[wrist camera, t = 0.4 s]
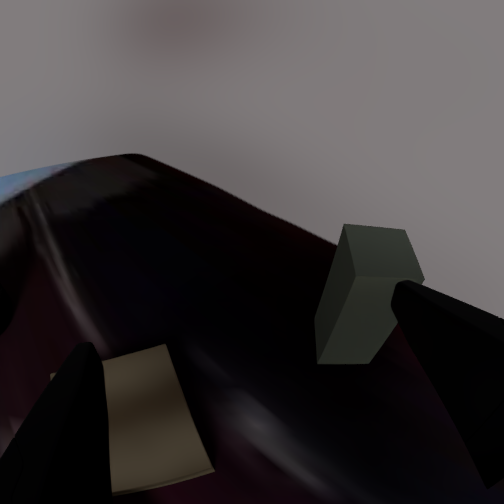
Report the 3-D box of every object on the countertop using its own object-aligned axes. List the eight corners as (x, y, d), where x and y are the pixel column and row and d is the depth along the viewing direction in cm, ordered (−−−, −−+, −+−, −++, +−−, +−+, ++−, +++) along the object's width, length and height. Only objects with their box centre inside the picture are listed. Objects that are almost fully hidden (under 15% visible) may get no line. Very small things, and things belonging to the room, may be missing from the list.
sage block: (368, 363, 25) (424, 279, 17) (317, 363, 25) (356, 275, 17) (361, 320, 28) (404, 229, 21) (314, 318, 28) (344, 223, 21)
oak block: (215, 471, 19) (212, 467, 17) (91, 500, 16) (73, 497, 13) (171, 361, 25) (165, 343, 23) (65, 389, 22) (50, 373, 20)
